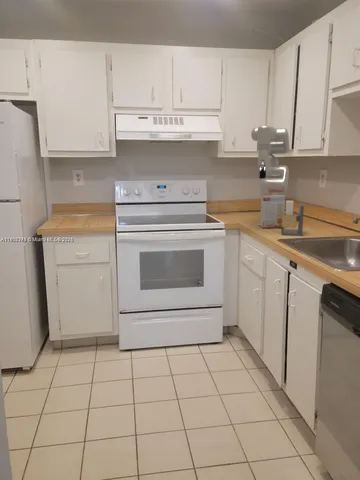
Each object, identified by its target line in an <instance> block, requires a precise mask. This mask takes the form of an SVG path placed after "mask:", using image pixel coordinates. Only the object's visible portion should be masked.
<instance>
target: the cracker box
mask: <svg viewBox="0 0 360 480" xmlns="http://www.w3.org/2000/svg"><path fill="white" fill-rule="evenodd" d="M283 214H286V195H282V194H280V195H279V194H277V195H276V194H275V195H274V194H273V195H267V196H261V195H260V218H261V226H260V228H262V229H285V227H282V216H283Z"/></svg>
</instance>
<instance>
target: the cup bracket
mask: <svg viewBox="0 0 360 480" xmlns="http://www.w3.org/2000/svg"><path fill="white" fill-rule="evenodd" d="M304 207H305V206H304V204H303V203H301V202H300V203H298V215H297V214H296V213H293V215H286V213H285V214H283V216H282V227H284V228H281V236H293V237H294V236H297V237H302V236H304V235H303V229H304V228H303V227H304V211H305V210H304ZM297 223H298V225H297ZM296 226H297V227H296ZM291 228H295V229H291ZM296 228H297V229H296Z"/></svg>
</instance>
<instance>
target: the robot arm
mask: <svg viewBox="0 0 360 480" xmlns="http://www.w3.org/2000/svg"><path fill="white" fill-rule="evenodd" d="M250 135H251V139H252V140H253V141H254V142H256V151H257V154H258V156H257V157H258V158H257V168H258V169H259V177H258V178H259V179H261V180H260V182H259V188H260V197H261V196H267V195H274V194H273V193H275V194H276V193H278V194H279V193H281V194H282V193H286V192H287V190H288V186H289V185H288V184H289V176H290V173H289V172H290V171H289V167H288V166H287V165H285V164H283V165H282V164H279V159H278V158H277V157H276V156H275V155H283V154H287V153H289V151H290V137H289V131H288V129H287V128H284V127H281V128H279V127H278V128H275V127H273V126H269V125H260V126H258V127H254V128H252V129H251V133H250ZM257 226H259V227H261V217H260V222H258V223H257Z"/></svg>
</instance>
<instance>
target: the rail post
mask: <svg viewBox="0 0 360 480" xmlns="http://www.w3.org/2000/svg"><path fill="white" fill-rule="evenodd" d="M285 214H286V215H293V214H294V200H285Z"/></svg>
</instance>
